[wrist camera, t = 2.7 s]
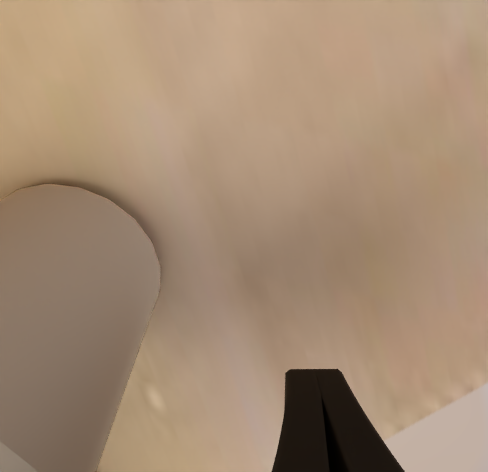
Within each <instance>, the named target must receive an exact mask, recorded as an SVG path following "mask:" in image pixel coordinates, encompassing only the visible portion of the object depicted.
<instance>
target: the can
mask: <svg viewBox="0 0 488 472" xmlns="http://www.w3.org/2000/svg"><path fill="white" fill-rule="evenodd" d="M160 268H161V267H160V264H159V261H158V258H157V255H156V252H155V249H154V246H153V244H152V242H151V240H150V239H149V238H148V236H147V235H146V233H145V232H144V231H143V229H142V228H141V227H140V225H139V224H138V223H137V221H136V220H135V219H134V218H133V217H131V216H130V215H129V214H128V213H126V212H125V211H124V210H122V209H121V208H120V207H118V206H117V205H116V204H114V203H113V202H112V201H111V200H109V199H107V198H104V197H102V196H99V195H97V194H94V193H92V192H90V191H87V190H85V189H82V188H80V187H73V186H64V185H56V184H42V185H37V186H32V187H27V188H22V189H18V190H16V191H14V192H13V193H11V194H10V195H8V196H6V197H5V198H3V199H1V200H0V472H96V470H97V467H98V464H99V461H100V458H101V456H102V453H103V450H104V447H105V444H106V442H107V439H108V436H109V433H110V430H111V427H112V425H113V422H114V419H115V416H116V413H117V410H118V408H119V405H120V402H121V399H122V396H123V393H124V391H125V388H126V385H127V382H128V379H129V376H130V374H131V371H132V368H133V365H134V362H135V359H136V357H137V354H138V351H139V348H140V345H141V342H142V340H143V337H144V334H145V331H146V328H147V326H148V323H149V320H150V317H151V314H152V311H153V309H154V306H155V303H156V300H157V297H158V294H159V292H160Z"/></svg>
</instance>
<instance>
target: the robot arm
mask: <svg viewBox="0 0 488 472" xmlns="http://www.w3.org/2000/svg"><path fill="white" fill-rule="evenodd" d="M272 472H404V470H403V469H402V467H401V466H400V465H399V463H398V462H397V460H396V459H395V458H394V456H393V455H392V453H391V452H390V450H389V449H388V448H387V446H386V445H385V443H384V442H383V440H382V439H381V437H380V436H379V434H378V433H377V431H376V430H375V428H374V427H373V425H372V424H371V422H370V421H369V419H368V417H367V416H366V414H365V413H364V411H363V409H362V408H361V406H360V404H359V403H358V401H357V399H356V398H355V396H354V394H353V393H352V391H351V389H350V387H349V385H348V384H347V382H346V380H345V378H344V376H343V374H342V372H341V371H339V370H338V369H290V370H289V371H287V372H286V378H285V411H284V419H283V424H282V429H281V435H280V440H279V445H278V449H277V454H276V457H275V461H274V465H273V469H272Z"/></svg>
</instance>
